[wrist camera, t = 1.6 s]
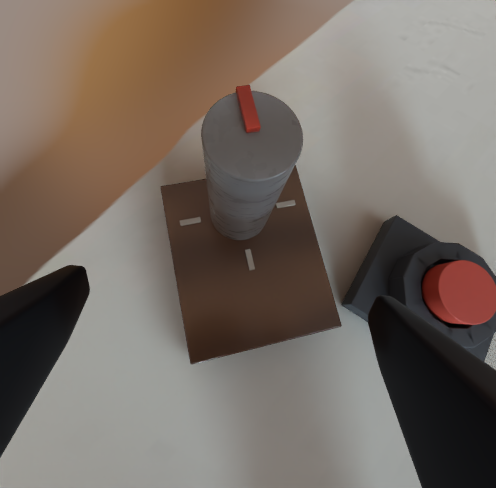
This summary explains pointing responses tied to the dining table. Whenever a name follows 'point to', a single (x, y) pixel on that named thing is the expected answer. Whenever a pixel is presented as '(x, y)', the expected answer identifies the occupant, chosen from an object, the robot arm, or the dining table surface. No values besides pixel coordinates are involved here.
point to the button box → (414, 279)
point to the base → (246, 274)
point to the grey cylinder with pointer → (248, 159)
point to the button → (460, 292)
